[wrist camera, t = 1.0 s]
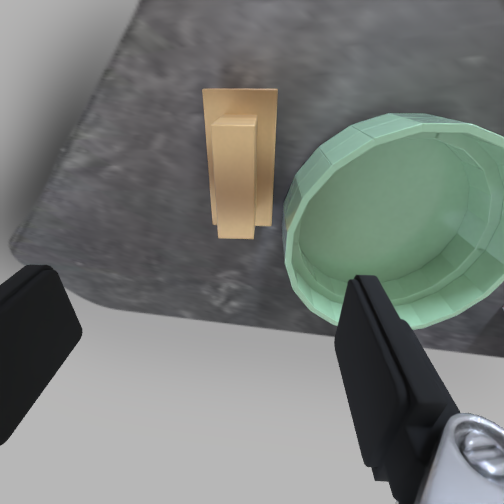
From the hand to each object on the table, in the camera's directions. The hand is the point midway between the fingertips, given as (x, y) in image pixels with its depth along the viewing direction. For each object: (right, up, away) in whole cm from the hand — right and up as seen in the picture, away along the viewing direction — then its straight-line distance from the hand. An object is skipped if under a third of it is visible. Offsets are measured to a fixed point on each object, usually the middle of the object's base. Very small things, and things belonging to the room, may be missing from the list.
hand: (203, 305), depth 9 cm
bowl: (+13, +5, +16) cm, 21 cm away
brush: (+1, +10, +14) cm, 17 cm away
